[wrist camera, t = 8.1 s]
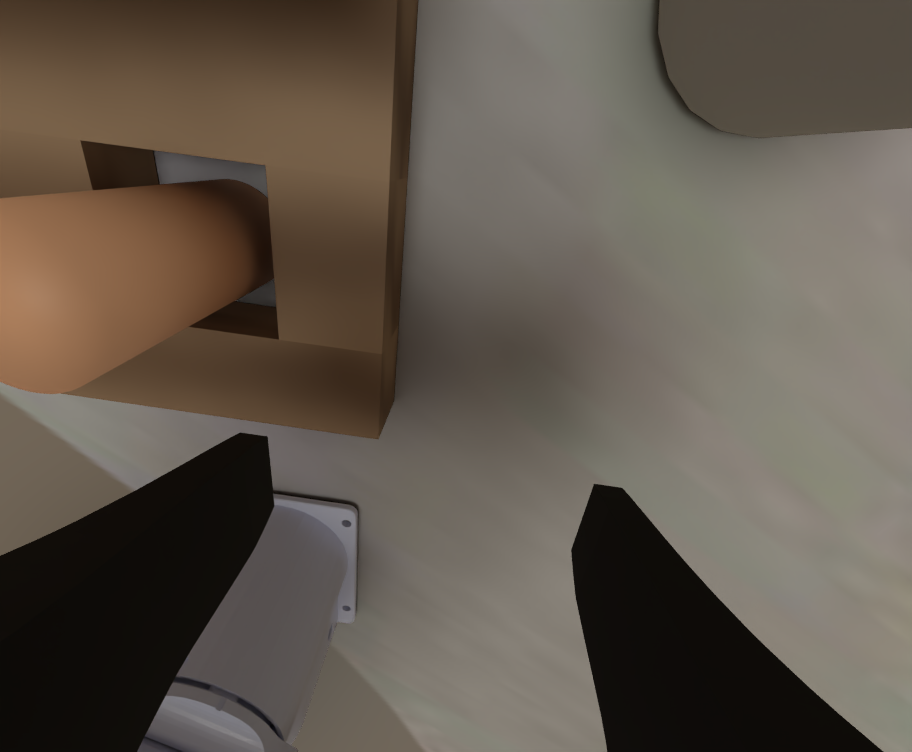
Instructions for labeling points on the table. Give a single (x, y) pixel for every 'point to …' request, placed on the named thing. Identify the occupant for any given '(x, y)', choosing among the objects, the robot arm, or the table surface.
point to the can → (791, 64)
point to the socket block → (244, 140)
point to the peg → (120, 273)
